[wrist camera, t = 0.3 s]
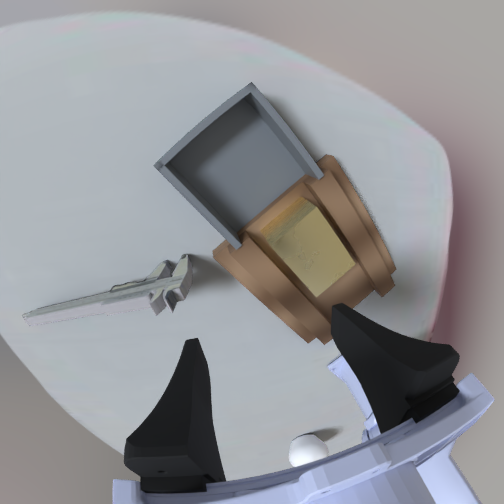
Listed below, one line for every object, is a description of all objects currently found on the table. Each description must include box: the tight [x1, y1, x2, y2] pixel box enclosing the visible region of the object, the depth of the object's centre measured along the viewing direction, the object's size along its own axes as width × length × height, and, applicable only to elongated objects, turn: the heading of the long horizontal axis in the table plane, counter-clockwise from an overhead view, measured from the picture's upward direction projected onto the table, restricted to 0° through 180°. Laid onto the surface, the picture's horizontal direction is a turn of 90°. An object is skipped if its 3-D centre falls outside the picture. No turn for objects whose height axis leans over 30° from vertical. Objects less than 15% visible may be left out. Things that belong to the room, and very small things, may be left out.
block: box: [260, 196, 355, 297], centre depth 20 cm, size 6×4×3 cm, turn 40°
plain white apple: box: [289, 434, 329, 467], centre depth 37 cm, size 7×7×8 cm
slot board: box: [213, 154, 396, 345], centre depth 23 cm, size 14×12×3 cm
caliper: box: [22, 254, 192, 326], centre depth 18 cm, size 20×1×6 cm, turn 106°
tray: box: [153, 82, 324, 250], centre depth 18 cm, size 8×8×3 cm
